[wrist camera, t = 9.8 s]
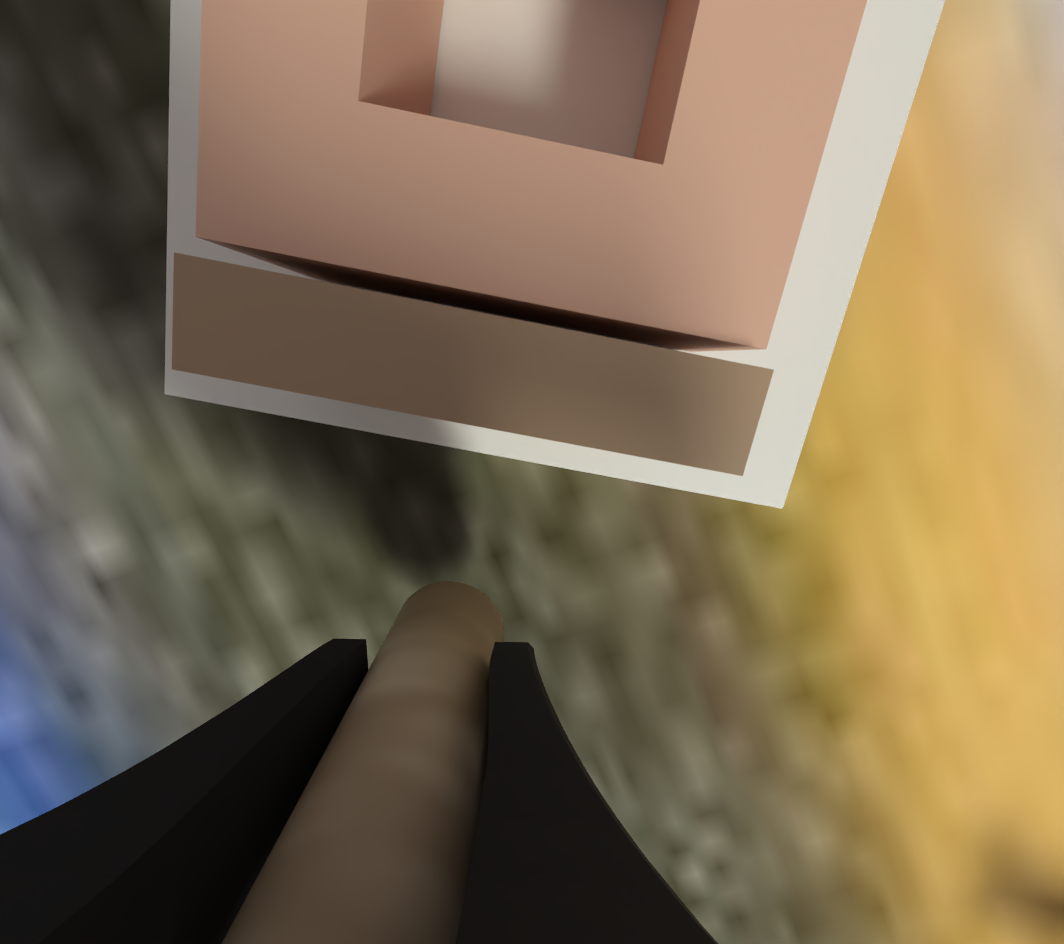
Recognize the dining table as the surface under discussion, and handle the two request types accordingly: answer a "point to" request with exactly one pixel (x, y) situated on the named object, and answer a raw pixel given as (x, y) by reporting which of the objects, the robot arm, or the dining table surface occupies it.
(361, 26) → the sliding block
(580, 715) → the dining table surface
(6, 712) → the dining table surface
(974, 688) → the dining table surface
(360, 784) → the dowel
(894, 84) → the base board
